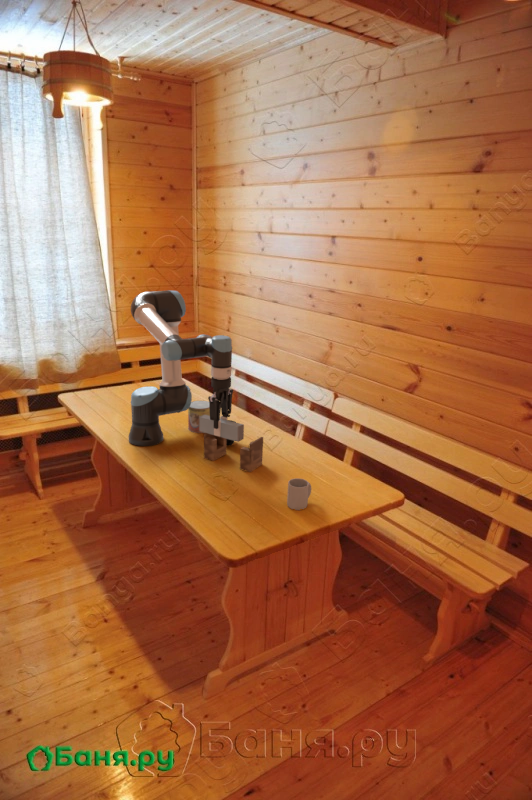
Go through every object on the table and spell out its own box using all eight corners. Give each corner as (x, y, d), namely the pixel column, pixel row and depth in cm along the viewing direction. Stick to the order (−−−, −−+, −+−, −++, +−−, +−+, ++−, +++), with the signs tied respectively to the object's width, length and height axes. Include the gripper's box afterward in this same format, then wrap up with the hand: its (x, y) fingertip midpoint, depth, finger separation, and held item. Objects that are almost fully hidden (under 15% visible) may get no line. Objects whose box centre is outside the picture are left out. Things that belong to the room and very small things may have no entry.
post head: (204, 457, 238) (204, 431, 234) (216, 450, 246) (216, 424, 242) (213, 460, 236) (213, 434, 232) (226, 453, 243) (226, 427, 239)
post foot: (239, 468, 230) (240, 441, 226) (251, 461, 237) (252, 434, 233) (250, 472, 227) (251, 444, 223) (262, 464, 235) (263, 437, 231)
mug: (225, 451, 246) (225, 430, 242) (215, 441, 256) (215, 421, 253) (243, 448, 249) (243, 428, 246) (232, 438, 259) (232, 419, 256)
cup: (282, 504, 204) (284, 482, 201) (302, 496, 210) (304, 474, 207) (296, 512, 198) (298, 489, 196) (317, 504, 205) (318, 481, 202)
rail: (198, 431, 228) (198, 416, 226) (204, 428, 230) (204, 414, 229) (238, 441, 218) (238, 427, 216) (243, 438, 221) (243, 424, 219)
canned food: (183, 430, 266) (183, 406, 263) (195, 422, 276) (195, 399, 273) (205, 434, 263) (205, 410, 259) (216, 426, 273) (216, 402, 269)
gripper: (216, 383, 208) (215, 442, 216) (241, 373, 222) (240, 429, 229) (200, 380, 212) (199, 438, 219) (225, 370, 225) (224, 425, 233)
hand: (220, 433), depth 224 cm, fingers closed on rail, 3 cm apart
